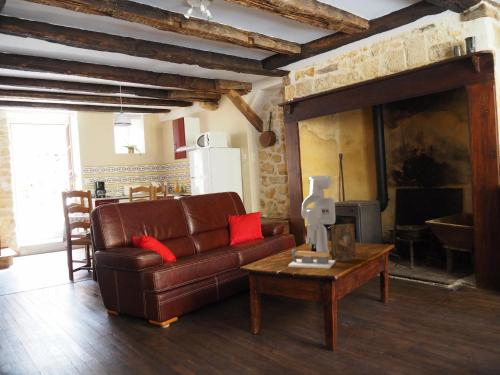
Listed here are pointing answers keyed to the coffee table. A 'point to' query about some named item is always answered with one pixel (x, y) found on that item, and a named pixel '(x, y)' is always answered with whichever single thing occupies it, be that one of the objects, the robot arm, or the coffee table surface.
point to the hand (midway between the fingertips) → (314, 253)
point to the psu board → (312, 262)
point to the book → (343, 242)
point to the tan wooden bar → (309, 253)
